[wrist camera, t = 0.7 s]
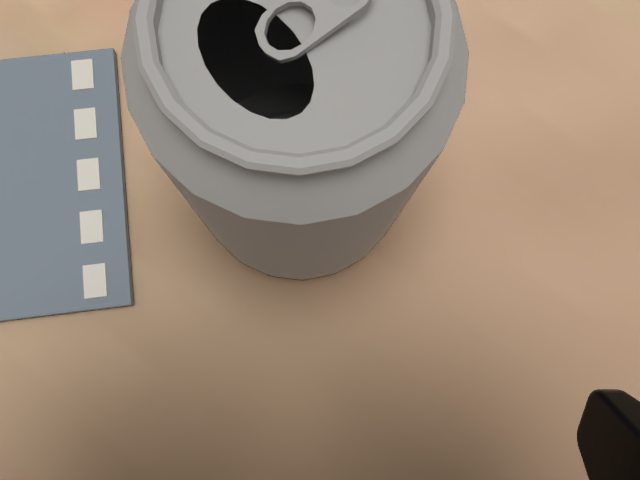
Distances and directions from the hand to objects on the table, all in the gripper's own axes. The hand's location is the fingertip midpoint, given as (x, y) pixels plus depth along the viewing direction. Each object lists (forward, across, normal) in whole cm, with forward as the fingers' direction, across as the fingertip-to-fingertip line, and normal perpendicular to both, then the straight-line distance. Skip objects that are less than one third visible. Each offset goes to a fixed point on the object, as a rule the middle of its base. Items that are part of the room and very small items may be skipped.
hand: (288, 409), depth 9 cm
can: (+15, -1, +3) cm, 15 cm away
